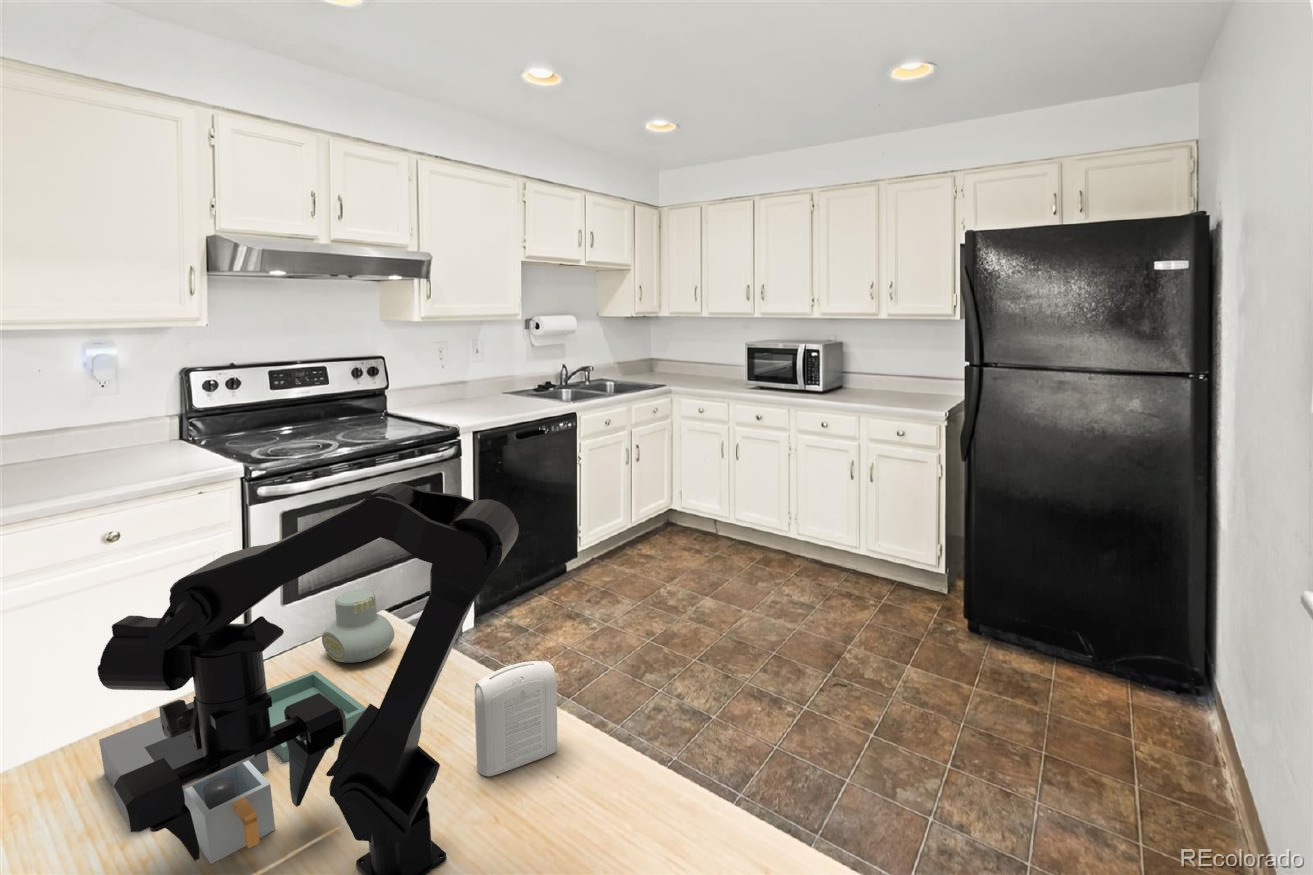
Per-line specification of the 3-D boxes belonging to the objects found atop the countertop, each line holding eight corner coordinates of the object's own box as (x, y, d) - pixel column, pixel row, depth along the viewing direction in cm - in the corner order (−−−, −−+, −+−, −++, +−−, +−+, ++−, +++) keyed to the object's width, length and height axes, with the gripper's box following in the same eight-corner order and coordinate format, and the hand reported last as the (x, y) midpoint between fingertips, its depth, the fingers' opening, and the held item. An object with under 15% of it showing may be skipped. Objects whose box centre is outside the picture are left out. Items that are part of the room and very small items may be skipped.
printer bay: (269, 773, 81) (265, 735, 80) (139, 835, 71) (132, 793, 70) (226, 727, 90) (221, 693, 89) (105, 777, 80) (98, 739, 79)
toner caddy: (288, 849, 70) (282, 798, 69) (223, 886, 65) (216, 832, 64) (243, 795, 78) (238, 748, 76) (182, 825, 73) (175, 775, 72)
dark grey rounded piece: (242, 816, 73) (238, 784, 73) (213, 831, 71) (208, 798, 71) (232, 805, 75) (228, 773, 74) (203, 819, 73) (199, 786, 72)
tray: (368, 725, 90) (367, 708, 90) (285, 766, 82) (283, 747, 82) (317, 685, 100) (316, 670, 99) (238, 718, 92) (236, 701, 91)
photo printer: (548, 735, 89) (546, 648, 86) (563, 752, 85) (561, 662, 83) (472, 763, 83) (467, 671, 81) (484, 783, 80) (479, 687, 77)
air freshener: (317, 653, 109) (312, 595, 107) (366, 634, 116) (361, 579, 114) (353, 676, 103) (347, 614, 101) (402, 654, 109) (398, 596, 107)
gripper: (296, 627, 77) (308, 750, 80) (86, 698, 63) (110, 844, 66) (343, 660, 70) (354, 793, 73) (119, 748, 56) (144, 909, 59)
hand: (248, 829), depth 68 cm, fingers open, 9 cm apart
